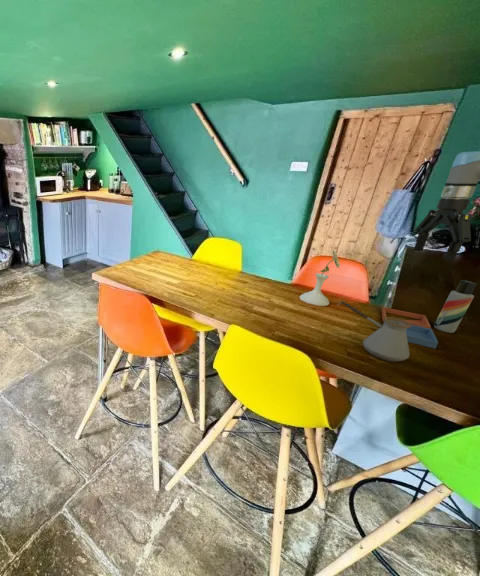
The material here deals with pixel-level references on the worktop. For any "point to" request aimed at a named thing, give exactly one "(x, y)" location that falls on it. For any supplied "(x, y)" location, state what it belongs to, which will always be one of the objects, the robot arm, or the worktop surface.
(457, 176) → the robot arm
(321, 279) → the flower in vase
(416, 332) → the blue tray
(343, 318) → the worktop surface
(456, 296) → the lotion bottle
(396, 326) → the coffee pot
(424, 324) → the terracotta tray
